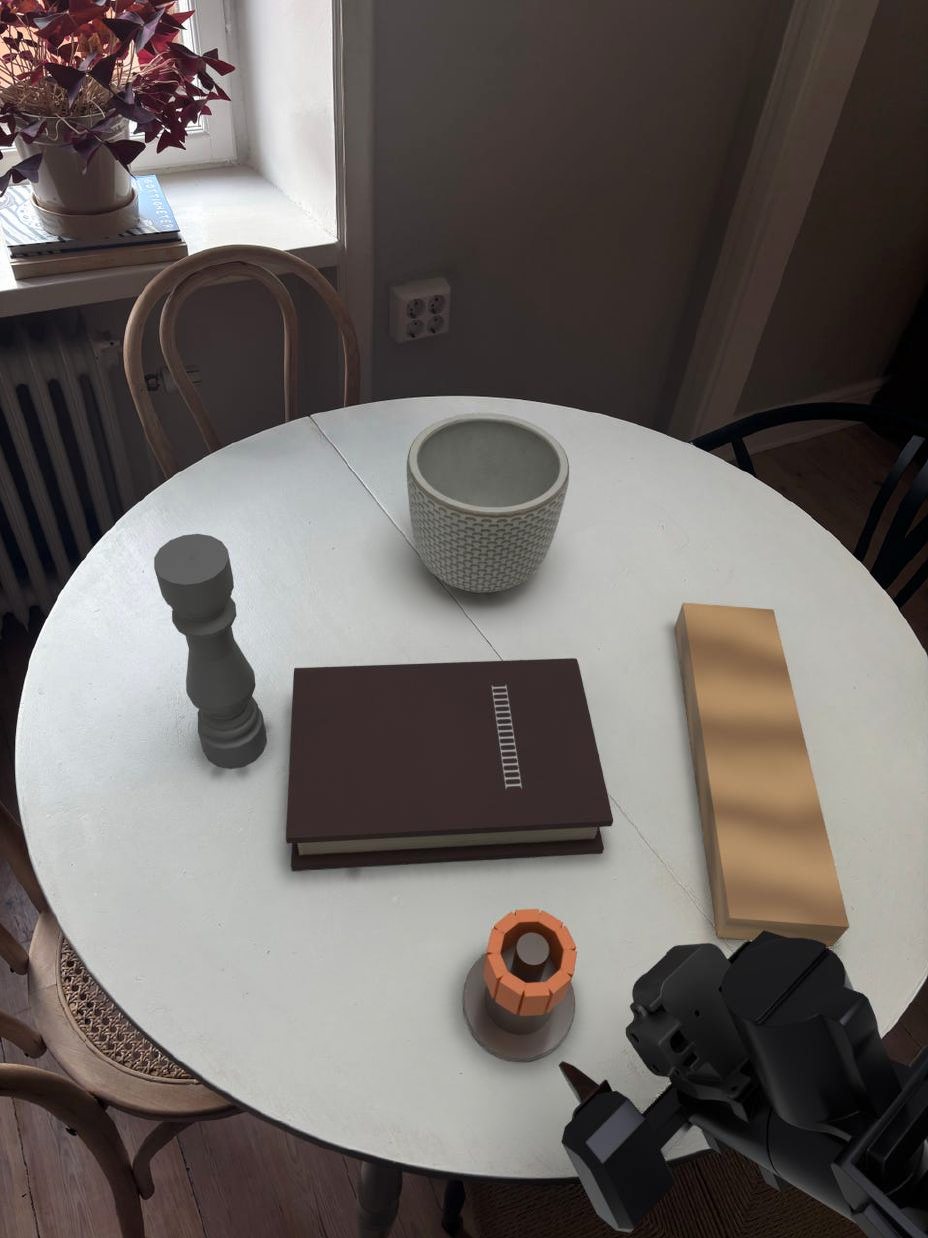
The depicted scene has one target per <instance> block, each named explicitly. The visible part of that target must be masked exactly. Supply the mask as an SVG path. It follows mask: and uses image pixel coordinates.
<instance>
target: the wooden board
mask: <svg viewBox="0 0 928 1238" xmlns="http://www.w3.org/2000/svg"><path fill="white" fill-rule="evenodd" d="M674 631H675V639H676V646H677V647H676V648H677V652H678V653H677V654H678V660H679V661H678V662H679V668H680V675H681V682H682V690H683V697H684V704H685V711H686V712H685V713H686V720H687V726H688V734H689V741H690V742H689V743H690V747H691V754H692V755H691V756H692V764H693V769H694V778H695V785H696V792H697V793H696V794H697V801H698V806H699V813H700V820H701V828H702V829H701V830H702V835H703V843H704V851H705V858H706V865H707V872H708V880H709V887H710V894H711V901H712V909H713V917H714V924H715V930H716V937H717V938H720V939H732V940H747V941H753V940H754V939H755V938H756V937H757V936H758V935H759V934H760V933H761V932H762V931H763V930H765V931H770V932H774V933H777V934H780V935H783V936H786V937H789V938H807V939H813V940H817V941H819V942H822V943H824V944H826V946H827V947H833V946H834V945H835V944H836V943H837V942H838V941H839V939H840V938H841V937H842V936H843V935H844V934H845V933H846V931H847V930H848V929H849V928H850V923H849V919H848V915H847V911H846V906H845V902H844V898H843V894H842V890H841V885H840V881H839V877H838V873H837V869H836V865H835V861H834V855H833V852H832V848H831V843H830V839H829V835H828V831H827V828H826V827H827V826H826V823H825V819H824V815H823V811H822V806H821V802H820V799H819V797H820V796H819V794H818V789H817V785H816V781H815V776H814V773H813V768H812V764H811V760H810V756H809V751H808V748H807V744H806V739H805V735H804V730H803V726H802V723H801V717H800V714H799V710H798V706H797V702H796V698H795V694H794V690H793V685H792V681H791V676H790V673H789V668H788V665H787V659H786V656H785V652H784V647H783V644H782V639H781V635H780V631H779V627H778V622H777V618H776V614H775V611H774V609H773V608H760V607H746V606H745V607H744V606H734V605H733V606H732V605H722V604H721V605H718V604H706V603H694V602H693V603H692V602H682V604H681V607H680V610H679V613H678V615H677V618H676V622H675V624H674Z"/></svg>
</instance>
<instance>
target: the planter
mask: <svg viewBox="0 0 928 1238" xmlns="http://www.w3.org/2000/svg"><path fill="white" fill-rule="evenodd" d="M406 459H407V460H406V487H407V498H408V510H409V516H410V517H409V518H410V523H411V524H410V525H411V531H412V535H413V536H412V537H413V539H414V544H415V547H416V548H415V549H416V550H417V553H418V555H419V557H420V559H421V561H422V563H423V564H424V565H425V567H426V568H427V569H428V570H429V572H431V573H432V574H433V575H434V576H435V577H436V578H438V579H439V580H440V581H442V582H444V583H445V584H447V585H449V586H451V587H453V588H457V589H458V590H459V589H460V590H462V591H465V592H467V593H468V592H469V593H473V594H491V593H495V592H501V591H506V590H509V589H512V588H514V587H516V586H519V585H521V584H522V583H524V582H526V581H527V580H528V579H530V578H531V577H532V576H533V575H534V574H535V573H536V572H537V571H538V570H539V568H540V567H541V566H542V564H543V563H544V561H545V560H546V558H547V555H548V553H549V551H550V548H551V545H552V543H553V539H554V537H555V535H556V531H557V527H558V526H559V525H558V524H559V521H560V518H561V514H562V510H563V507H564V502H565V499H566V495H567V492H568V487H569V480H570V464H569V458H568V455H567V453H566V451H565V448H563V446H562V445H561V443H560V442H559V441H558V440H557V439H556V438H555V437H554V435H551V433H549V432H548V431H547V430H545V429H543V428H541V427H540V426H538V425H536V424H535V423H533V422H530V421H527V420H525V419H522V418H518V417H516V416H513V415H512V416H511V415H507V414H502V413H493V412H473V413H472V412H470V413H464V414H457V415H454V416H449V417H446V418H444V419H441V420H438V421H436V422H434V423H433V424H431V425H429V426H428V427H426V428H425V429H424V430H423V431H421V432H420V433H419V434H418V435H417V436H416V438H415V439H413V442H412V443H411V445H410V447H409V450H408V453H407V458H406Z"/></svg>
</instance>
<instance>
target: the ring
mask: <svg viewBox="0 0 928 1238" xmlns="http://www.w3.org/2000/svg"><path fill="white" fill-rule="evenodd" d="M563 924H564V922H563V921H561V920H560V919H558V918H557V917H555V916H554V915H551V914H550V913H548V912H547V911H545V910H543V909H542V910H541V911H540V909H539V908H530V909H529V908H528V909H515V911H510V912H508V914H506V915H505V916H504V917H503V918H502V919H500V920H499V921H497V922H496V923H495V924H494V925H493V928H491V931H490V935H489V938H488V943H487V947H486V951H485V953H486V957H485V963H484V969H483V972H484V979H485V981H486V984H487V986H488V989H489V991H490V994H491V996H492V998H495V997H496V1000H495V1002H497V1003H498V1004H500V1005H501V1006H503V1007H504V1008H506V1009H507V1010H509V1011H510V1012H512V1013H513V1014H515V1015H516V1014H517V1012H518V1010H519V1015H520V1016H530V1015H543V1014H544V1011H545V1012H546V1013H548V1012H549V1011H550V1010H551V1009H553V1008H554V1007H555V1006H556V1005H557V1004H558V1003H559V1002H560V1001H561V1000H563V999H564V997H565V994H566V993H567V990H568V988H569V985H570V982H571V983H572V981H573V980H572V979H573V976H574V973H575V968H576V962H577V957H578V956H577V955H578V951H577V946H576V943H575V941H574V939H573V937H572V934H571V933H570V931H569V929H568V927H567V925H563ZM526 933H537V934H540V935H541V936H543V937H544V938H545V939H546V941H547V942H548V945H549V954H550V957H551V959H552V961H553V963H554V965H555V967H556V970H557V972H556V973H555V974H554V975H553V976H552V977H550V978H549V979H548V980H547V981H546V982H533V983H525V982H524V981H522V980H520V979H519V978H517V977H516V976H514V975H513V974H511V973H510V972H508V970H507V968H506V965H505V963H504V961H503V958H502V956H501V954H502V953H504V952H505V951H506V950H507V949H508V948H510V947H511V946H512V945H513V944H517V942H518V940H519V938H520V937H521V936H522V935H524V934H526Z"/></svg>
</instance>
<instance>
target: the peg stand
mask: <svg viewBox="0 0 928 1238" xmlns="http://www.w3.org/2000/svg"><path fill="white" fill-rule="evenodd" d="M501 956H502V958H503V961H504V963H505V965H506V968H507V970H508V972H510V973H511V974H513V975H514V976H516V977H517V978H519V979H520V980H522V981H524V982H525V983H533V982H546V981H547V980H548V979H549V978H550V977H552V976H553V975H554V974H555V973H556V972H557V970H556V967H555V965H554V963H553V961H552V959H551V957H550V954H549V945H548V942H547V941H546V939H545V938H544V937H543V936H541V935H540V934H537V933H526V934H524V935H522V936H521V937H520V938H519V940H518V942H517V944H513V945H512V946H511V947H510V948H508V949H507V950H506V951H505V952H504V953H502V954H501ZM485 957H486V952H485V953H484V954H482V955H481V956H480V957H479V958H478V959H477V960H476V962H474V964H473V965H472V967H471V969H470V970H469V972H468V974H467V976H466V978H465V979H466V980H465V983H464V988H463V994H462V1007H463V1008H462V1009H463V1014H464V1018H465V1021H466V1025H467V1026H468V1028H469V1031H470V1032H471V1034H472V1036H473V1037H474V1038H475V1040H476V1041H477V1042H478V1044H480V1045H481V1046H482V1047H483V1048H484V1049H485V1050H486V1051H488V1052H489V1053H491V1054H492V1055H494V1056H496V1057H499V1058H501V1059H503V1060H507V1061H511V1062H520V1063H521V1062H522V1063H524V1062H532V1061H536V1060H539V1059H542V1058H544V1057H546V1056H548V1055H550V1054H551V1053H553V1052H554V1051H555V1050H556V1049H558V1047H559V1046H560V1045H561V1044H562V1043H563V1042H564V1040H565V1039H566V1037H567V1036H568V1033H569V1031H570V1030H571V1027H572V1023H573V1021H574V1019H575V1012H576V996H575V991H574V987H573V983H572V981H571V982H570V985H569V988H568V990H567V993H566V994H565V997H564V999H563V1000H561V1001H560V1002H559V1003H558V1004H557V1005H556V1006H555V1007H554V1008H553V1009H551V1010H550V1011H549V1012H548V1013H546V1012H545V1011H544V1014H543V1015H530V1016H520V1015H519V1010H518V1012H517V1014H516V1015H515V1014H513V1013H512V1012H510V1011H509V1010H507V1009H506V1008H504V1007H503V1006H501V1005H500V1004H498V1003H497V1002H495V1000H496V997H495V998H492V996H491V994H490V991H489V989H488V986H487V984H486V981H485V979H484V972H483V969H484V963H485Z"/></svg>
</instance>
